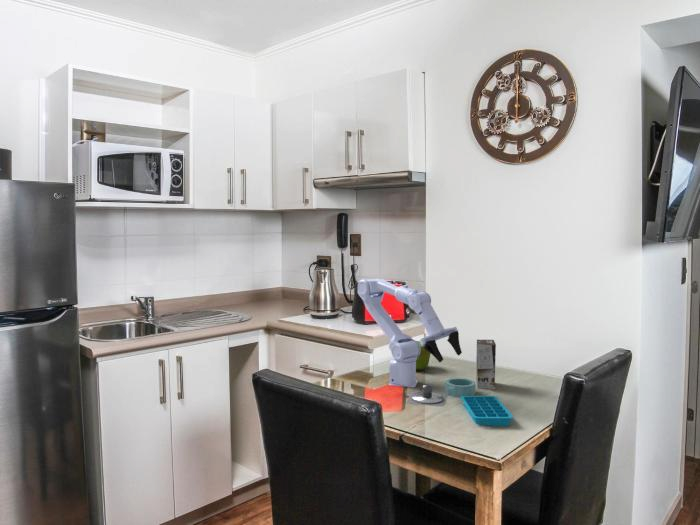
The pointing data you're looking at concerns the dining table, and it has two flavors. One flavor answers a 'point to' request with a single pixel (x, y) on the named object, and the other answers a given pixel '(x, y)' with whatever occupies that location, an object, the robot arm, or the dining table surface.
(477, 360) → the coffee box
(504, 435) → the dining table surface
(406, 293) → the robot arm
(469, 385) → the bowl
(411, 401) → the mat
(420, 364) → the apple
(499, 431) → the dining table surface
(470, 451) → the dining table surface
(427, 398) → the lid
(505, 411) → the ice cube tray
